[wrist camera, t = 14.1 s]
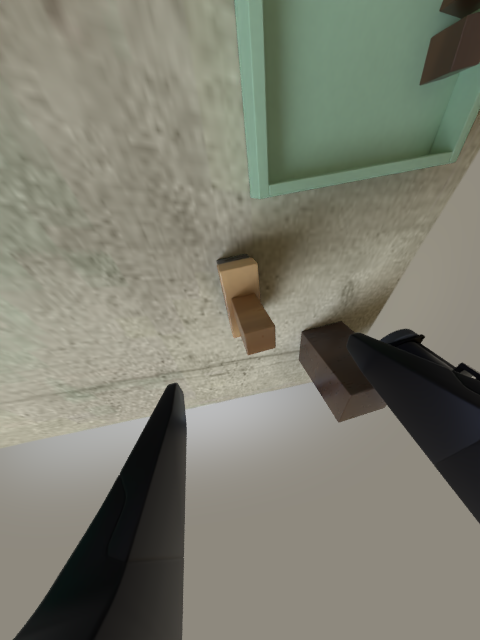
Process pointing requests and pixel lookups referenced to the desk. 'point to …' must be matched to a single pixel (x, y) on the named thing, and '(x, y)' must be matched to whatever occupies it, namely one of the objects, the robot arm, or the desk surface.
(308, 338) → the dark brown block
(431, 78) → the crumb
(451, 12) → the crumb
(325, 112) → the tray
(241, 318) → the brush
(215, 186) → the desk surface
